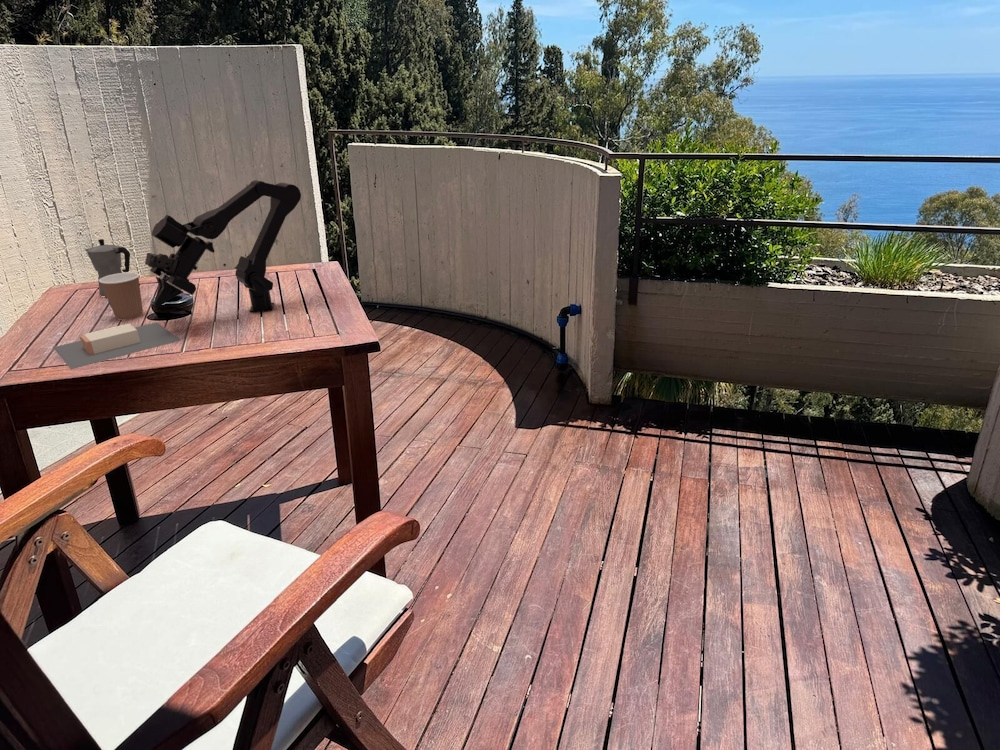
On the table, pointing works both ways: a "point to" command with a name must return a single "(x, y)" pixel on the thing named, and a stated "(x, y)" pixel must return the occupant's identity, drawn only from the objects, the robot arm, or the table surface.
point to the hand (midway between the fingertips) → (155, 305)
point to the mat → (148, 338)
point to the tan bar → (109, 339)
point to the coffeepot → (108, 260)
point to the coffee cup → (123, 294)
